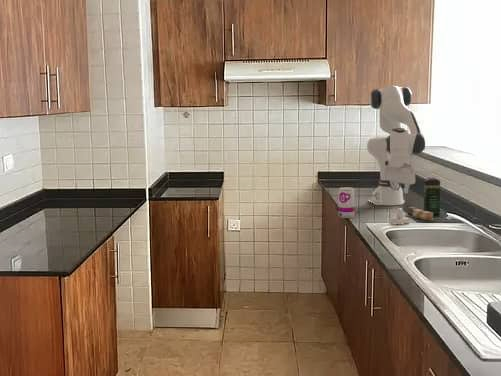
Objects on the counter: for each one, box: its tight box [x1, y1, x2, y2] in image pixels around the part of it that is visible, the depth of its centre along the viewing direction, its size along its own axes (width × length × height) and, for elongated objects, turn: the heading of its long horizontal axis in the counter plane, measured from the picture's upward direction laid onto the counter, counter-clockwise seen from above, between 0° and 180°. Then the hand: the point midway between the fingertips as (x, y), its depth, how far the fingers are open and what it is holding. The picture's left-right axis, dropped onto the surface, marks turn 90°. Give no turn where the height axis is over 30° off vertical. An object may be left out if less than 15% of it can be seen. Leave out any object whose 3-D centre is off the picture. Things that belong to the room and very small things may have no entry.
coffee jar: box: [423, 177, 441, 216], centre depth 297 cm, size 10×8×19 cm
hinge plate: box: [405, 213, 435, 221], centre depth 289 cm, size 18×6×1 cm, turn 20°
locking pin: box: [396, 207, 403, 219], centre depth 275 cm, size 3×3×7 cm
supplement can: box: [337, 186, 356, 219], centre depth 297 cm, size 8×8×15 cm
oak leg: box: [407, 206, 434, 219], centre depth 288 cm, size 17×4×3 cm, turn 19°
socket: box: [390, 216, 410, 225], centre depth 275 cm, size 6×6×2 cm
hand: (399, 191), depth 274 cm, fingers open, 8 cm apart
